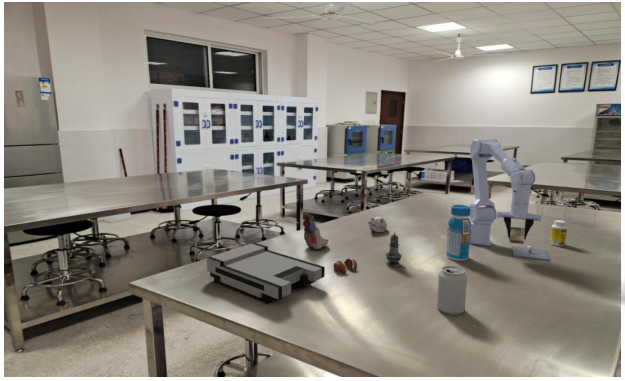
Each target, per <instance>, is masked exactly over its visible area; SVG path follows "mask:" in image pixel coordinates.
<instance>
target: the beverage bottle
mask: <svg viewBox="0 0 625 381" xmlns="http://www.w3.org/2000/svg"><path fill="white" fill-rule="evenodd" d="M450 209H451V210H450V214H451V217H450V218H449V220H448V223H447V225H448V227H447V229H446V230H447V235H446V252H445V256H446V257H447V259H449V260H453V261H460V262H461V261H462V262H463V261H467V260H468V259H469V257H470V235H471V229H470V227H471V222H470V221H471V219H470V217H469V216H470V205H469V206H468V205H464V204H452V205H451V207H450Z"/></svg>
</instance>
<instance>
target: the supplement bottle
mask: <svg viewBox="0 0 625 381" xmlns="http://www.w3.org/2000/svg"><path fill="white" fill-rule="evenodd" d="M567 232H568V227H567V225H566V221H565V220H561V219H560V220H559V219H557V220H556V219H555V220H554V223H553V224H552V225H551V230H550V238H549V243H550V245H552V246H555V247H564V246H565V245H566V241H567V240H566V239H567Z"/></svg>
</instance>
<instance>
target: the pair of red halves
mask: <svg viewBox="0 0 625 381" xmlns="http://www.w3.org/2000/svg"><path fill="white" fill-rule="evenodd" d="M332 267H333V270H334V271H336V272H338V273H341V274H343V275H346V274H347V271H348V269H350V270H352V271H354V272H356V271H357V270H358V263H357V260H355V259H353V258H352V259H351V258H347V259H345V260H344V261H343V260H341V259H339V260H337V261H335V262H334V263H333V266H332Z"/></svg>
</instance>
